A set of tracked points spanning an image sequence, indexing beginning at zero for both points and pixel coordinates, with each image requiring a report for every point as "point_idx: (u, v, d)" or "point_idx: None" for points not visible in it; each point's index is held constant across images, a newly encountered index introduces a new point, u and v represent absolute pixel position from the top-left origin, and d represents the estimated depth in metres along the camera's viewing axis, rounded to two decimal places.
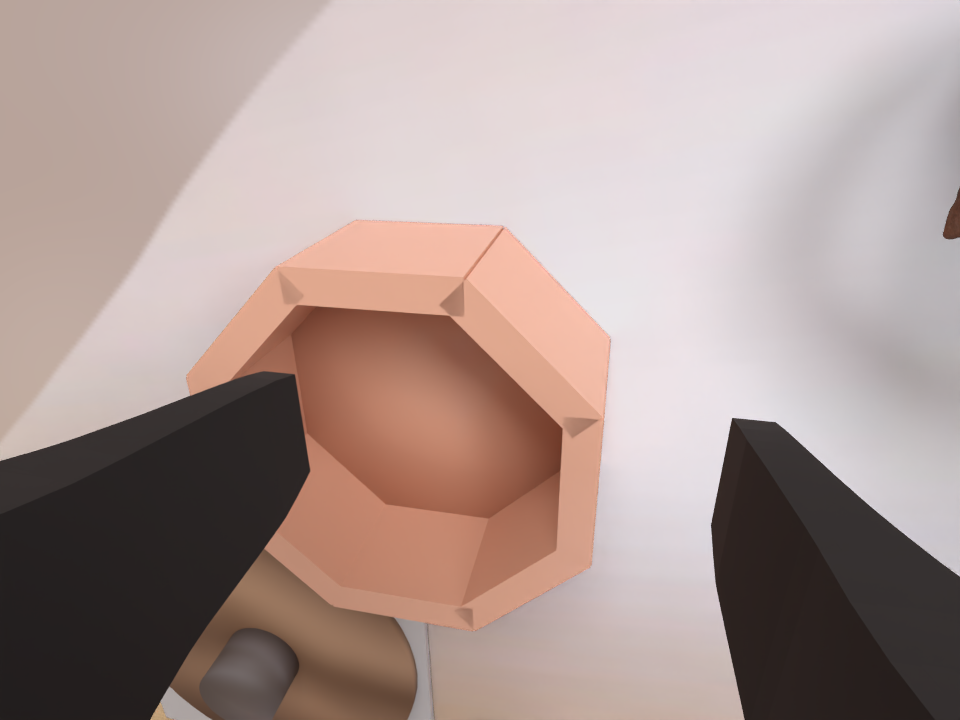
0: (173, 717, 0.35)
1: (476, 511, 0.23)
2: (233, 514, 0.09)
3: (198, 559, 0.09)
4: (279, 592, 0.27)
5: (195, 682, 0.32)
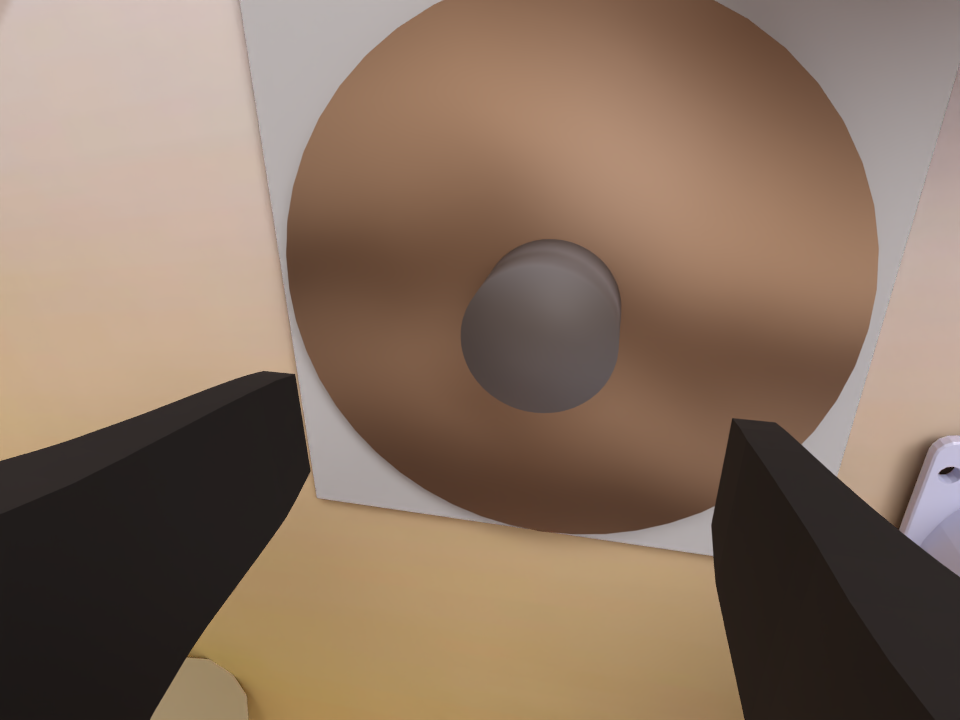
0: (327, 498, 0.22)
1: None
2: (233, 514, 0.09)
3: (198, 559, 0.09)
4: (628, 127, 0.14)
5: (395, 398, 0.18)
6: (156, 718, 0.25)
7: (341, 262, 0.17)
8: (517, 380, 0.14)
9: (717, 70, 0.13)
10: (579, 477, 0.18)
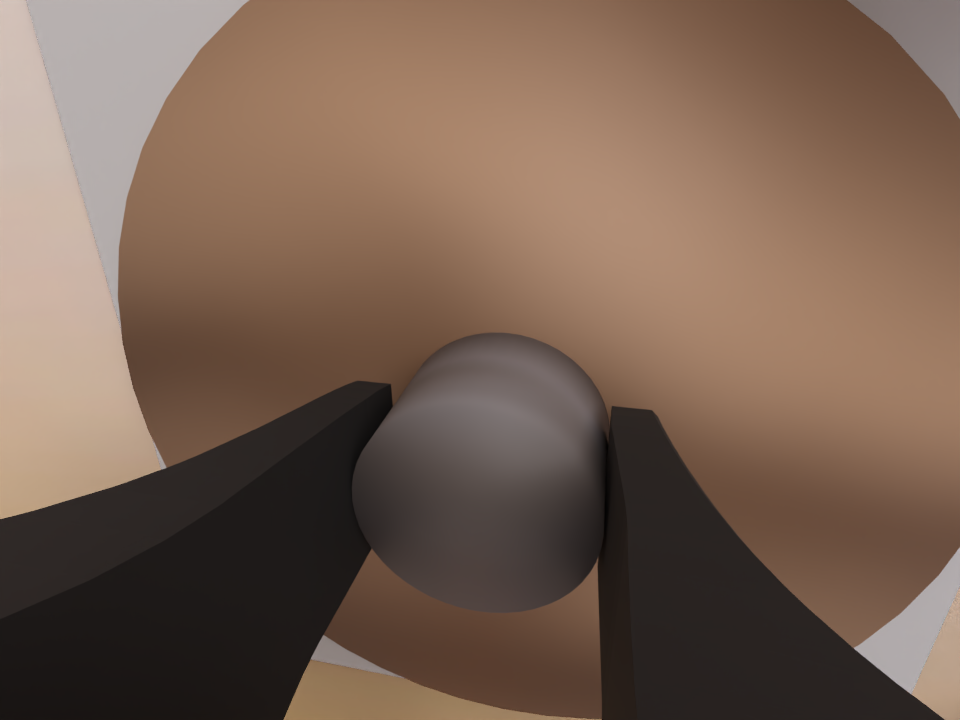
0: None
1: None
2: (340, 531, 0.09)
3: (312, 578, 0.08)
4: (617, 166, 0.08)
5: None
6: None
7: (200, 355, 0.11)
8: (444, 565, 0.09)
9: (768, 73, 0.08)
10: (552, 648, 0.13)
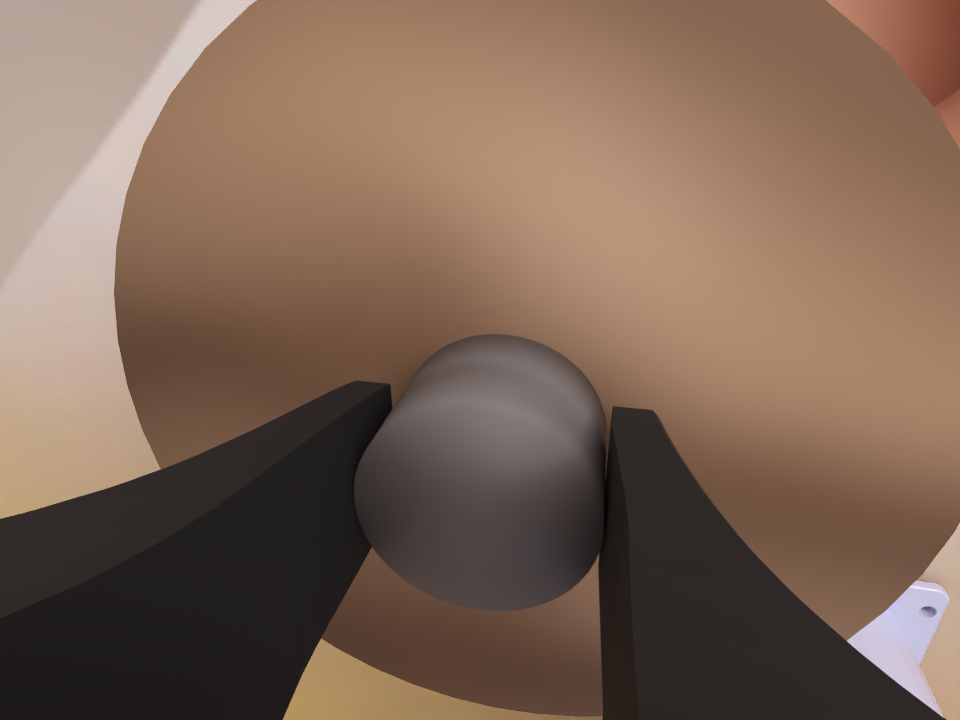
0: None
1: None
2: (339, 530, 0.09)
3: (312, 577, 0.08)
4: (619, 172, 0.09)
5: None
6: None
7: (197, 353, 0.11)
8: (444, 564, 0.09)
9: (768, 85, 0.08)
10: (545, 647, 0.13)
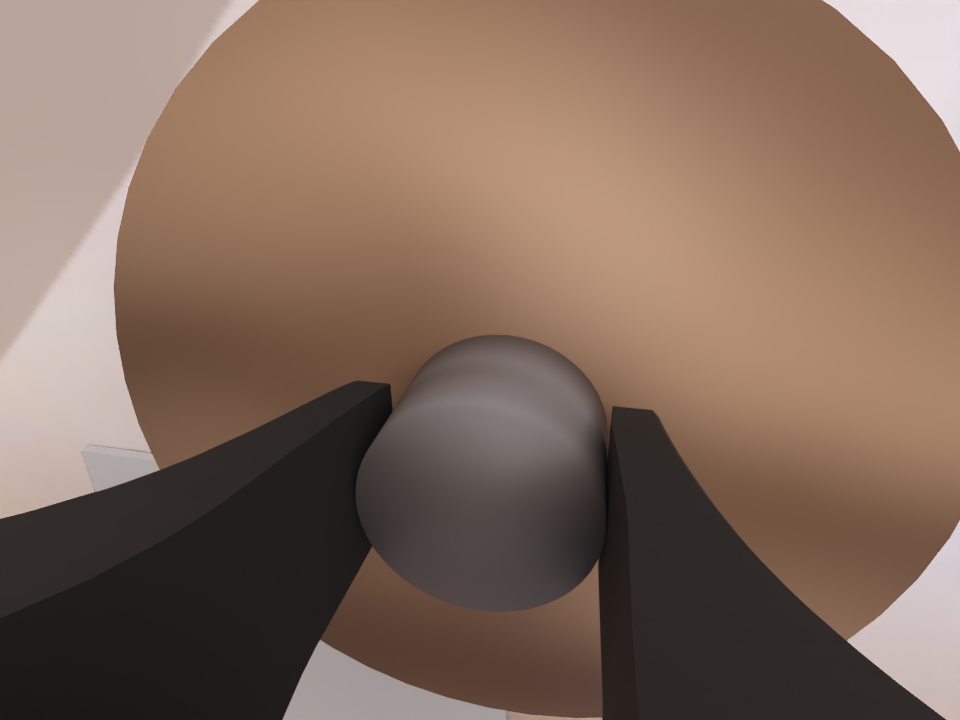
0: None
1: None
2: (339, 530, 0.09)
3: (311, 578, 0.08)
4: (626, 175, 0.09)
5: None
6: None
7: (197, 349, 0.11)
8: (445, 564, 0.09)
9: (776, 92, 0.08)
10: (541, 648, 0.13)
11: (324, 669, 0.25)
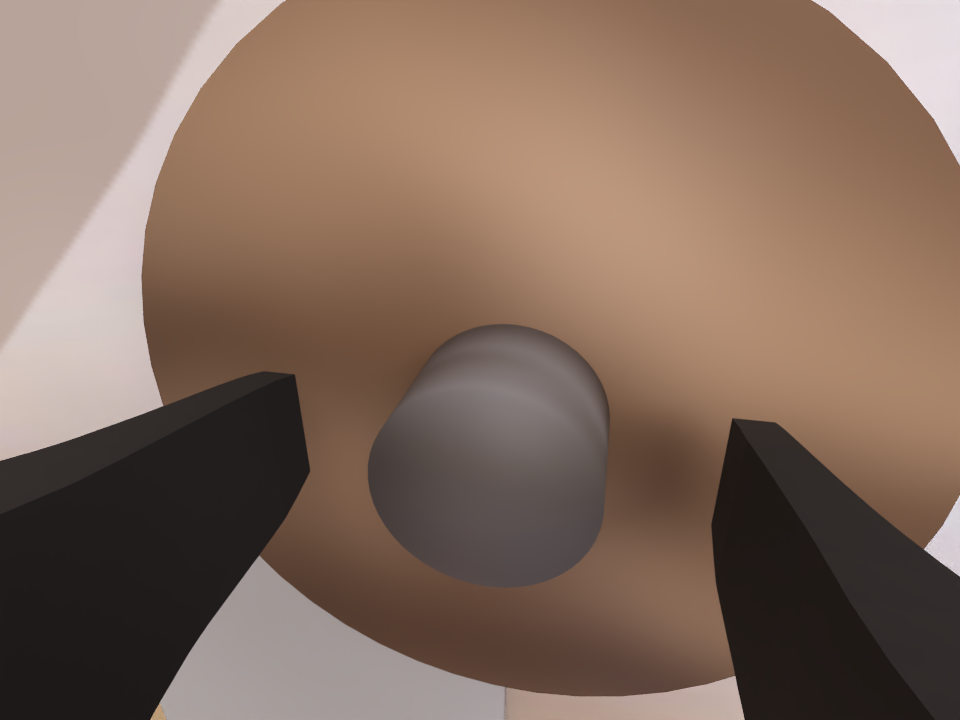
0: None
1: None
2: (233, 514, 0.09)
3: (198, 559, 0.09)
4: (629, 171, 0.09)
5: (300, 512, 0.14)
6: None
7: (219, 335, 0.12)
8: (452, 541, 0.10)
9: (773, 91, 0.08)
10: (545, 628, 0.13)
11: (319, 678, 0.25)
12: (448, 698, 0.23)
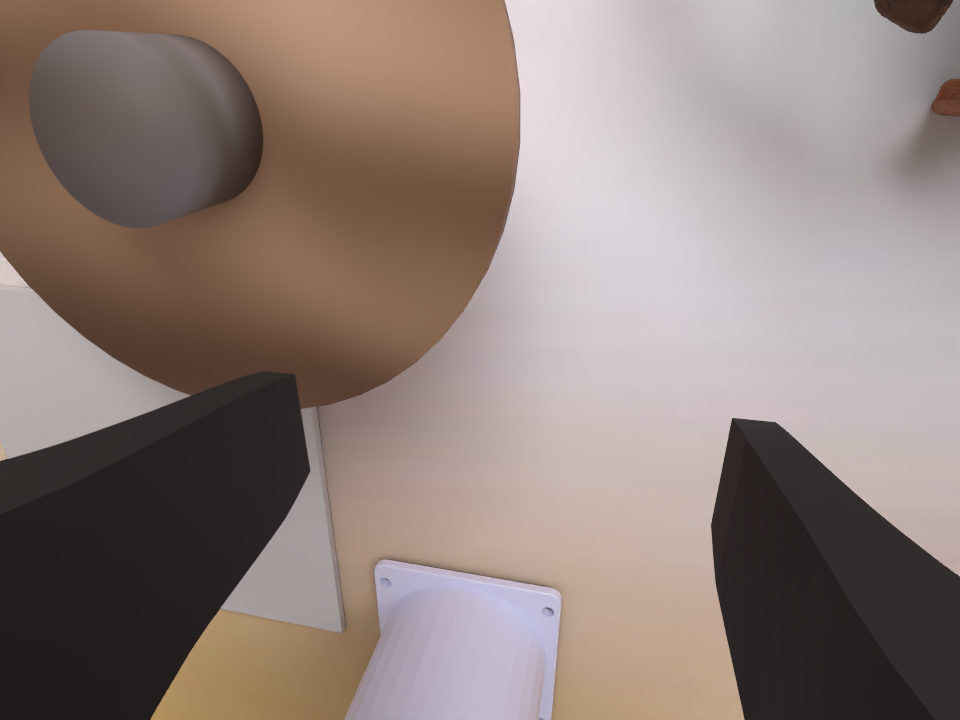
0: None
1: None
2: (233, 514, 0.09)
3: (198, 558, 0.09)
4: None
5: (59, 243, 0.16)
6: None
7: None
8: (103, 185, 0.12)
9: None
10: (260, 340, 0.16)
11: None
12: None
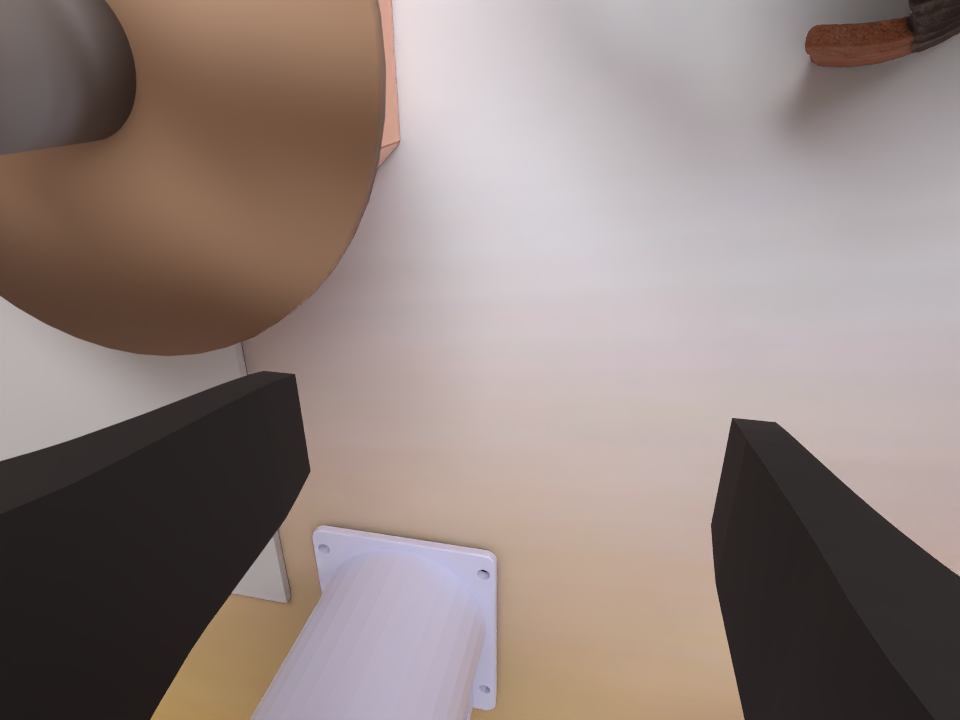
0: None
1: None
2: (233, 514, 0.09)
3: (198, 559, 0.09)
4: None
5: None
6: None
7: None
8: None
9: None
10: (154, 282, 0.16)
11: None
12: None
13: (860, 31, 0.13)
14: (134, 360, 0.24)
